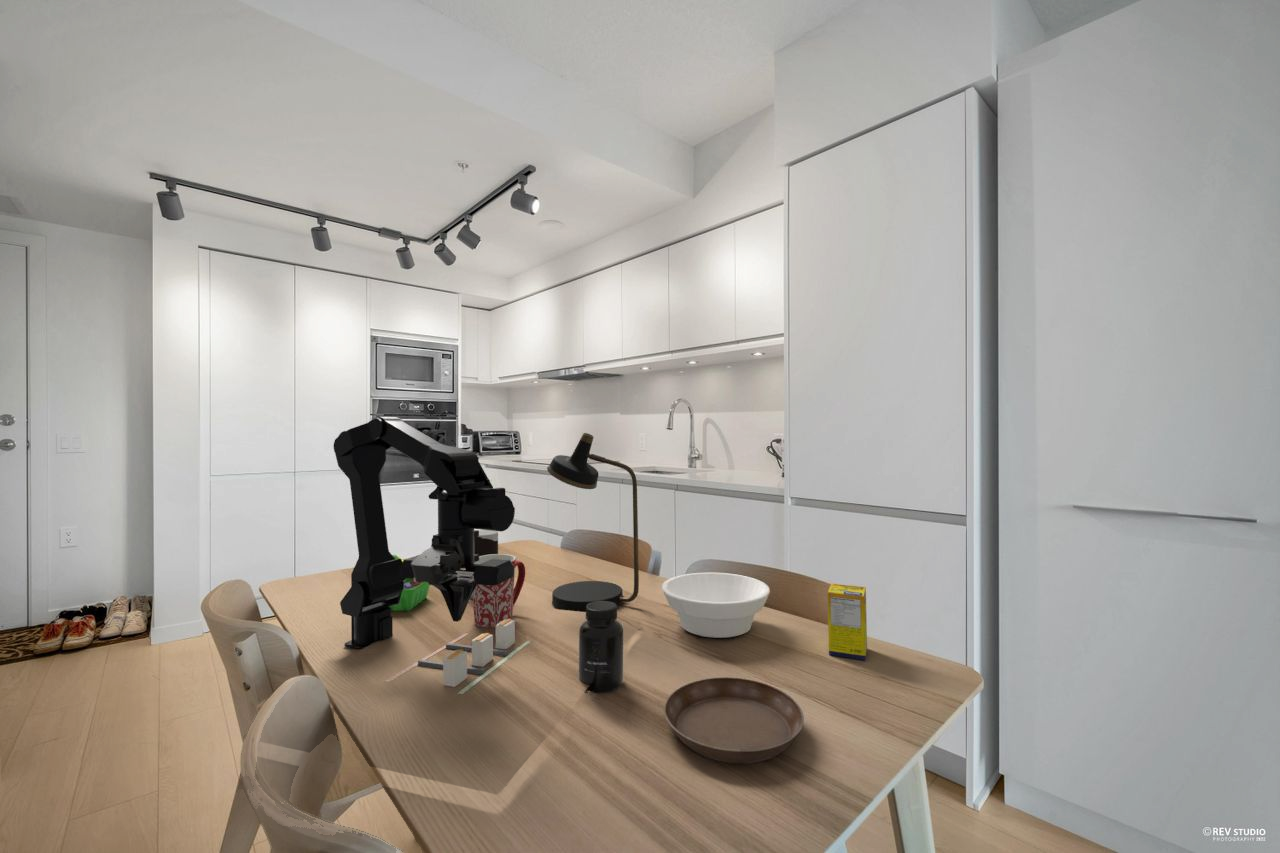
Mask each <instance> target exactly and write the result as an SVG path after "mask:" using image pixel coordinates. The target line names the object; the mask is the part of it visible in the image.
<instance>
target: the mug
mask: <svg viewBox="0 0 1280 853" xmlns="http://www.w3.org/2000/svg"><path fill="white" fill-rule="evenodd" d="M491 559H499V560H510V561H511V562H512V564H513V566H514V575H515V572H516V571H515V568H517V570H518V573H517V580H516V582H515V576H514V577H512V578H510V579H508V580H506V581H504V582H502V583H500V584H498V585H493V586H491V585H479V584H477V586H476V588H475V589H474V591H473V593H472V596H473V600H472V606H473V607H472V608H473V620H474V622H473V623H474V625H475V626H477V627H481V628H496V625H497V624H498V623H500V622H501V621H503V620H505V619H506V620H507V619H512V620H513V614H514V611H513V610H514V606H515V604H516V603H517V600H518V599H519V596H520V594H521V591H522V589H523V586H524V583H525V578H526V566H525V564H524V563H523V562H522V561H520V560H517V558H516V556H514V555H511V554H507V553H498V554H490V555H484V556H479V561H476V562H474V564H481V563H484V562H486V561H489V560H491Z"/></svg>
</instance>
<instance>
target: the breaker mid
mask: <svg viewBox="0 0 1280 853" xmlns="http://www.w3.org/2000/svg"><path fill="white" fill-rule="evenodd" d="M471 646H472V652H471V666H472V667H474V666H475V667H479V668H483V667H484V666H486V665H487V664H488V663H490V662H491V661H493V660H494V655H493V649H494V635H493V634H490V633H489V632H485V633H481V634H480V635H478V636H476V637H475V638H473V639H471Z"/></svg>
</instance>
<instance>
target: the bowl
mask: <svg viewBox="0 0 1280 853" xmlns="http://www.w3.org/2000/svg"><path fill="white" fill-rule="evenodd" d="M661 590H662V592H663V595H664V597H665V599H666V601H667V603H668V605H669V607H670V608H671V609H672V610H674V611H676V613H677V617H678V620H679V624H680V626H681V627H682V629H684V630H685V631H687V632H689V633H691V634H694V635H697V636H700V637H706V638H714V639H715V638H716V639H717V638H720V639H721V638H732V637H737V636H741V635H743V634H744V635H745V634H746V633H748V632H749V631H750V630H751V627H752V625H753V621H754V618H755V615H756V614H757V613H759V612H761V611H762V609H763V608H764V606H765V604H766V602H767V601H768V600H767V599H768V598H769V595H770V593H771V589H770V587H769V585H768V584H767V583H765V582H763V581H762V580H759V579H757V578H753V577H750V576H745V575H741V574H736V573H735V574H734V573H729V572H728V573H727V572H694V573H693V572H692V573H687V574H681V575H677V576H674V577H670V578H669V579H667V580H665V581H664V582H663V583H662V585H661Z"/></svg>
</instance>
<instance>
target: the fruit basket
mask: <svg viewBox="0 0 1280 853" xmlns="http://www.w3.org/2000/svg"><path fill="white" fill-rule="evenodd" d="M392 555H393V557H394V558H395V559H401V560H402V562H403V560H404V559H402V558H401V557H400V556H398V555H396V554H392ZM430 586H431V585H430V584H429V583H428V582H421V583H420V582H416V580H415V578H413V579H411V578H405V580H404V588H403V590H402V594H401V597H400V601H399V604H397V605H392V606H389V607H391V611H393V612H395V611H411V610H413V609H414V608H415V607H417V606H418V605H419V604H421V603H422V602H423V601H424V600H425V598H426V599H427V598H428V594H429V589H430ZM418 603H419V604H418Z"/></svg>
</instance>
